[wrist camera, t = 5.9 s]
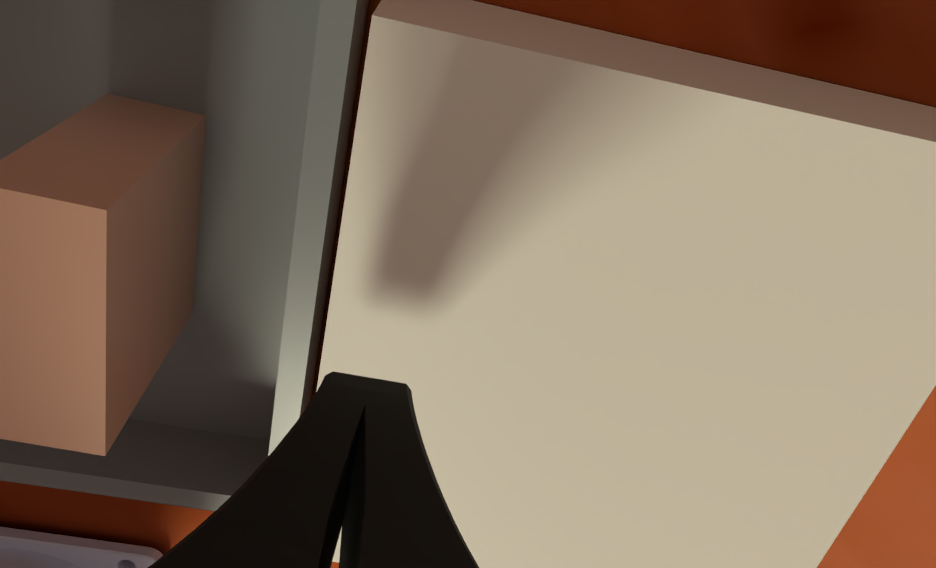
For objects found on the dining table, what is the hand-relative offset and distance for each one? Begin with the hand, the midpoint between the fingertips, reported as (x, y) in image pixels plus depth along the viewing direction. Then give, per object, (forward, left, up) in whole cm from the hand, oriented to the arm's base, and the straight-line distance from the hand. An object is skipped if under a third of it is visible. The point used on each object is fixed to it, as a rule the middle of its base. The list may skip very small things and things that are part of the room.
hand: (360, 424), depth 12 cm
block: (-4, 0, -3) cm, 5 cm away
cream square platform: (+5, 0, -6) cm, 8 cm away
